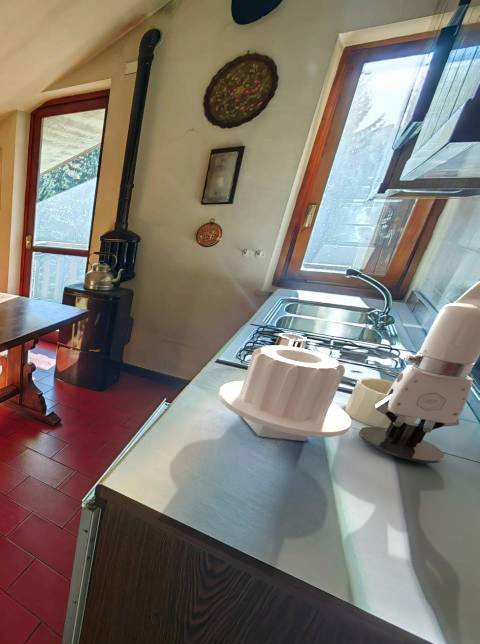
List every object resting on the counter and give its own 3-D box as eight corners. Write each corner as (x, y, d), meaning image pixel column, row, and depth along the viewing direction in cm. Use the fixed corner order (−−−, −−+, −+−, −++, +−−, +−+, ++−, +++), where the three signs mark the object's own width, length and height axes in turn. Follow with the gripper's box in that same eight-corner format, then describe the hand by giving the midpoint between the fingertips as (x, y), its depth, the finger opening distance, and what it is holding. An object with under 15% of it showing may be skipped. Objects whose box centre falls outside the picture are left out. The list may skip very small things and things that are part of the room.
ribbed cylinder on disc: (368, 465, 82) (409, 384, 74) (236, 450, 86) (263, 373, 79) (300, 408, 104) (326, 342, 96) (199, 399, 109) (216, 334, 101)
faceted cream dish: (401, 414, 102) (416, 384, 98) (421, 436, 92) (438, 405, 88) (339, 402, 107) (352, 374, 104) (352, 422, 98) (366, 392, 94)
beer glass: (289, 390, 114) (307, 342, 108) (260, 383, 118) (276, 336, 112) (291, 383, 119) (309, 336, 113) (264, 376, 123) (279, 331, 117)
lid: (426, 441, 88) (440, 417, 86) (454, 473, 78) (470, 447, 76) (350, 425, 95) (361, 402, 92) (367, 452, 84) (379, 428, 82)
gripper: (393, 363, 79) (356, 439, 87) (512, 381, 72) (461, 462, 79) (381, 352, 85) (347, 424, 93) (490, 367, 78) (444, 444, 85)
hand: (400, 441), depth 86 cm, fingers closed on lid, 2 cm apart
